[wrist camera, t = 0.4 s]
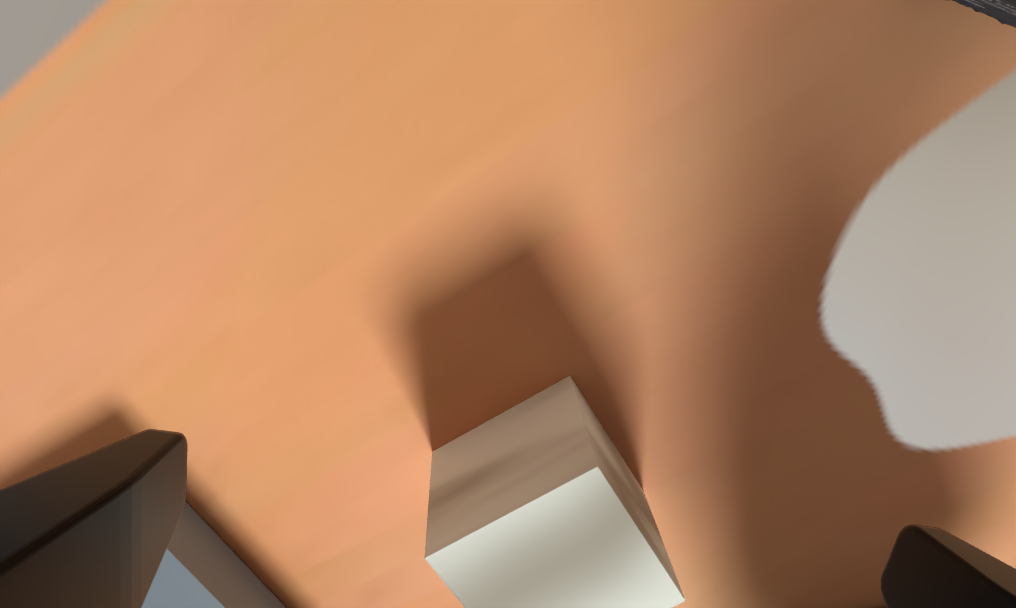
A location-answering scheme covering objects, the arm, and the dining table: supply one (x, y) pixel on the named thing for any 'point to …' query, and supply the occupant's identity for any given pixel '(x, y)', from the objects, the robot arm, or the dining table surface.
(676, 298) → the dining table surface
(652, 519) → the cream block
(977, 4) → the small box
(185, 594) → the tray
